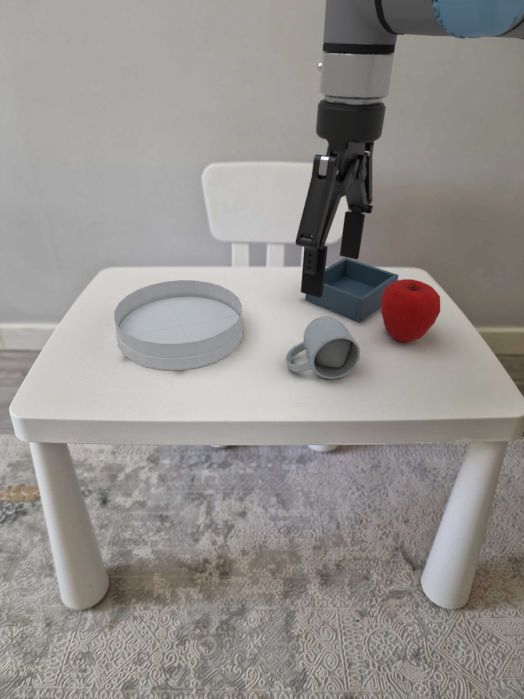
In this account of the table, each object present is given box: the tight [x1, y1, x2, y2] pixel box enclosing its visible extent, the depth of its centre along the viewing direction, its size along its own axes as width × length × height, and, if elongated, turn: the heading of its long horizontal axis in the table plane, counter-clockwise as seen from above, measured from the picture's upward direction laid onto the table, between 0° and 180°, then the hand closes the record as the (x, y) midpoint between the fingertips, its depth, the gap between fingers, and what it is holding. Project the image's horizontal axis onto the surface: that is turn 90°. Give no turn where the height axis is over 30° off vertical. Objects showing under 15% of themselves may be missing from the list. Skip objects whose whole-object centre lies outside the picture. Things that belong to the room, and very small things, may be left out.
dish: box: [113, 279, 244, 371], centre depth 80 cm, size 22×22×5 cm
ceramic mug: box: [285, 315, 361, 380], centre depth 72 cm, size 11×8×8 cm
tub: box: [304, 257, 400, 323], centre depth 91 cm, size 13×14×5 cm
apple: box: [380, 278, 441, 343], centre depth 78 cm, size 10×10×11 cm
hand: (331, 274), depth 63 cm, fingers open, 13 cm apart
